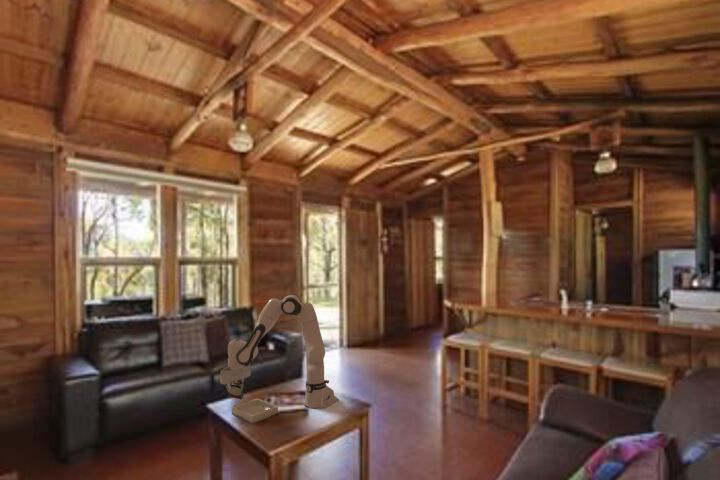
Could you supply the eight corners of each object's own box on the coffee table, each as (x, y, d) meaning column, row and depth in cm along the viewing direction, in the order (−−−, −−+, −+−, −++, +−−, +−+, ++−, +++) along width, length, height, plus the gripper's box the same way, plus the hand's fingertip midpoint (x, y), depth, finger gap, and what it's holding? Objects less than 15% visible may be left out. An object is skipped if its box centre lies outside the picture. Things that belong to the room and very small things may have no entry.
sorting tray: (257, 404, 257) (257, 398, 257) (277, 413, 244) (277, 406, 244) (231, 414, 243) (231, 407, 243) (252, 423, 230) (252, 416, 230)
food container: (249, 393, 260) (247, 380, 257) (243, 400, 255) (241, 386, 251) (233, 389, 264) (230, 376, 261) (227, 396, 259) (224, 383, 255)
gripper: (223, 370, 246) (223, 393, 246) (252, 362, 262) (252, 384, 262) (217, 368, 250) (217, 391, 250) (246, 360, 266) (246, 381, 266)
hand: (235, 387), depth 256 cm, fingers closed on food container, 6 cm apart
